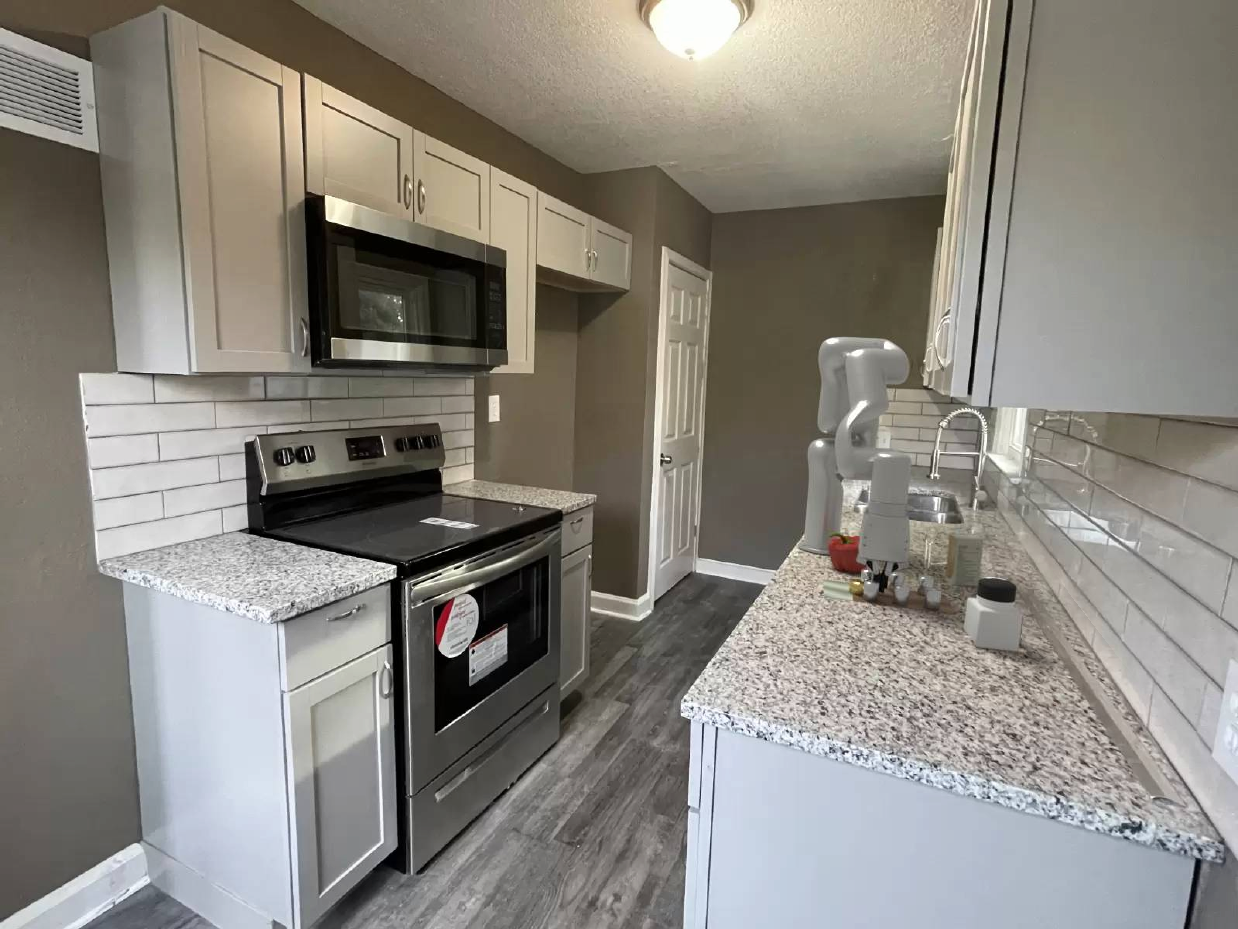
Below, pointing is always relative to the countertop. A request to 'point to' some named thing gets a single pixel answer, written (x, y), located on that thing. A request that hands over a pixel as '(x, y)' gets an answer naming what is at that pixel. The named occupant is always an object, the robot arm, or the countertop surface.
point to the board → (882, 597)
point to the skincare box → (964, 559)
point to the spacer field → (902, 590)
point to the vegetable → (845, 553)
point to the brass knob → (856, 587)
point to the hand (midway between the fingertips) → (879, 590)
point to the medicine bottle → (994, 616)
